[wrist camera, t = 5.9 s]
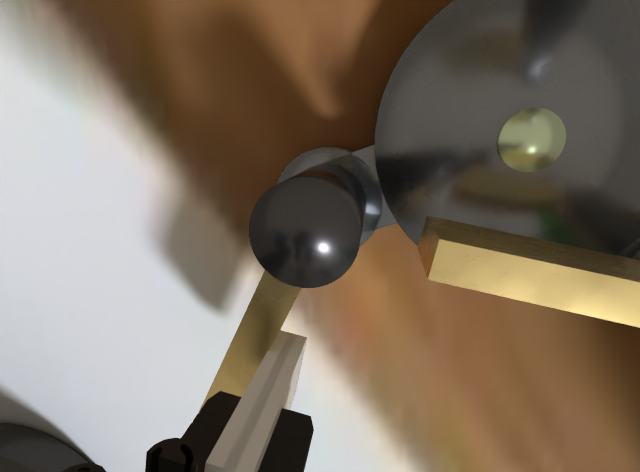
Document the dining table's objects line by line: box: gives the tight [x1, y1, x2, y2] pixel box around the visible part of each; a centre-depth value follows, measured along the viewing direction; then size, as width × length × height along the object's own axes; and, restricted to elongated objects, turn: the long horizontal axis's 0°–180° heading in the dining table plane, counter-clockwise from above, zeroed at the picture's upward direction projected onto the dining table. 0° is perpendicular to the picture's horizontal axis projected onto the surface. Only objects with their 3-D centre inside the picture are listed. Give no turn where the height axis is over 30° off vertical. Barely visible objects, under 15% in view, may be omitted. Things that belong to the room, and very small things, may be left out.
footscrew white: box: [418, 215, 640, 328], centre depth 14 cm, size 12×4×6 cm, turn 80°
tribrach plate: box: [277, 0, 640, 258], centre depth 15 cm, size 20×18×2 cm
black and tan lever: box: [199, 164, 367, 412], centre depth 16 cm, size 12×4×6 cm, turn 155°
